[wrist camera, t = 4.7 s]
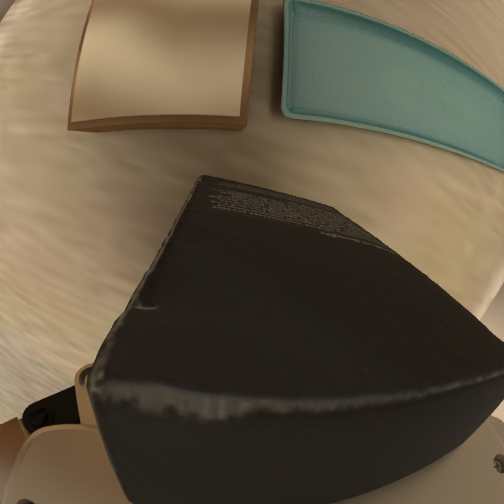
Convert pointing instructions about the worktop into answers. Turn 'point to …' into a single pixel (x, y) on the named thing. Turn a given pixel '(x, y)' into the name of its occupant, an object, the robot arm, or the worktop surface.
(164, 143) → the worktop surface
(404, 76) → the shallow long dish
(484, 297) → the worktop surface
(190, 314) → the small box
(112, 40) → the brown rectangular tray
